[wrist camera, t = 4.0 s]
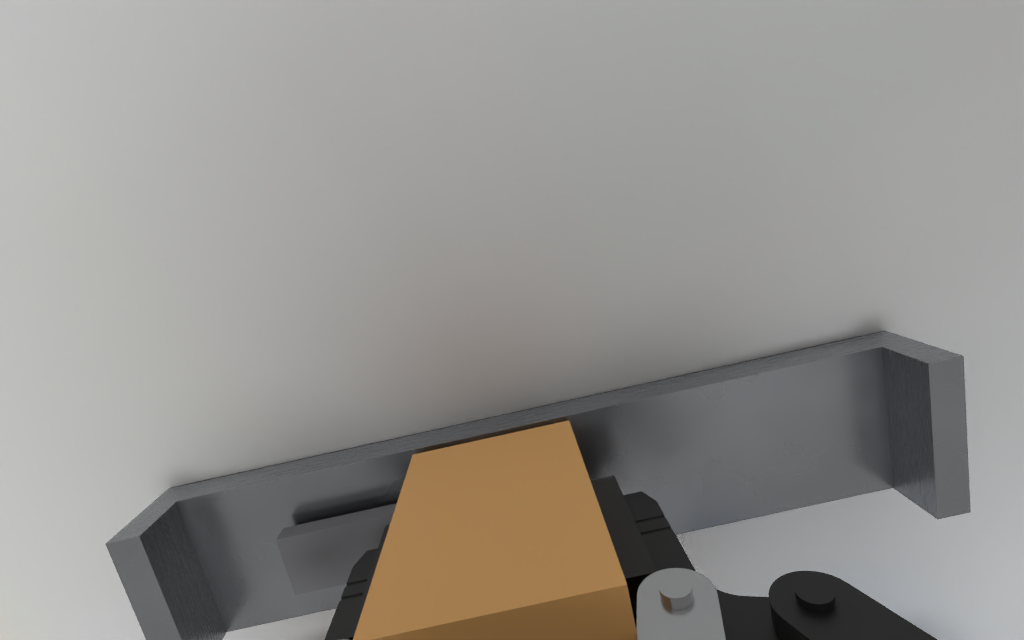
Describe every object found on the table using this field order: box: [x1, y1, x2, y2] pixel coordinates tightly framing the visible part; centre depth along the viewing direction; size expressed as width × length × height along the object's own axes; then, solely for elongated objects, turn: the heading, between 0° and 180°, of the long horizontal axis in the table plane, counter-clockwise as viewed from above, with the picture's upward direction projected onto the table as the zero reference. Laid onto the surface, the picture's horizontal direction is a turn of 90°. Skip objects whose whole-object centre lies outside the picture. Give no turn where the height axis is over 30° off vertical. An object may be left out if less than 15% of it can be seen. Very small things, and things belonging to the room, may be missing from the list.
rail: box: [106, 331, 970, 640], centre depth 14 cm, size 20×4×2 cm, turn 102°
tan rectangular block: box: [276, 420, 636, 640], centre depth 11 cm, size 8×4×6 cm, turn 102°
